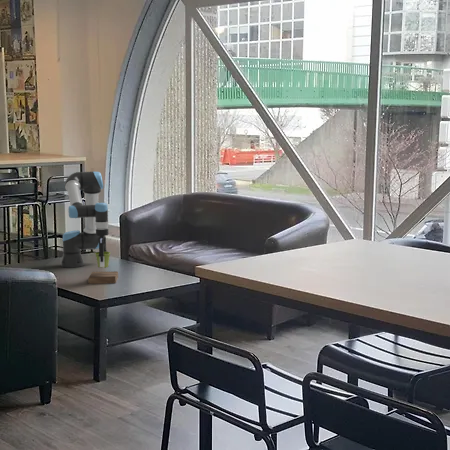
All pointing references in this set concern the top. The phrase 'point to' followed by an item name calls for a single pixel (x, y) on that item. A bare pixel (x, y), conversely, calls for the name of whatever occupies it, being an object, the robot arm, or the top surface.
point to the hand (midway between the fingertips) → (103, 265)
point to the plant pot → (106, 259)
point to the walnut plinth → (103, 277)
